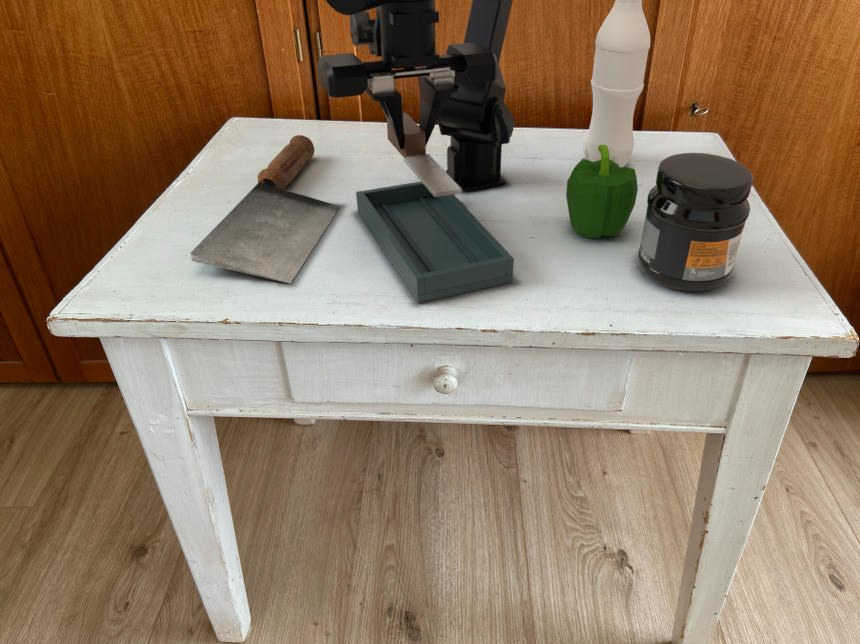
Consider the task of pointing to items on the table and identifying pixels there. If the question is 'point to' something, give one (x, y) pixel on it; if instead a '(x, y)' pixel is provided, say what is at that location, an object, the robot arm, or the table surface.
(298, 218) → the meat cleaver
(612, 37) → the water bottle
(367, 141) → the table surface
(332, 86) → the robot arm
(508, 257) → the tray
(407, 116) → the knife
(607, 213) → the bell pepper
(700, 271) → the supplement container
